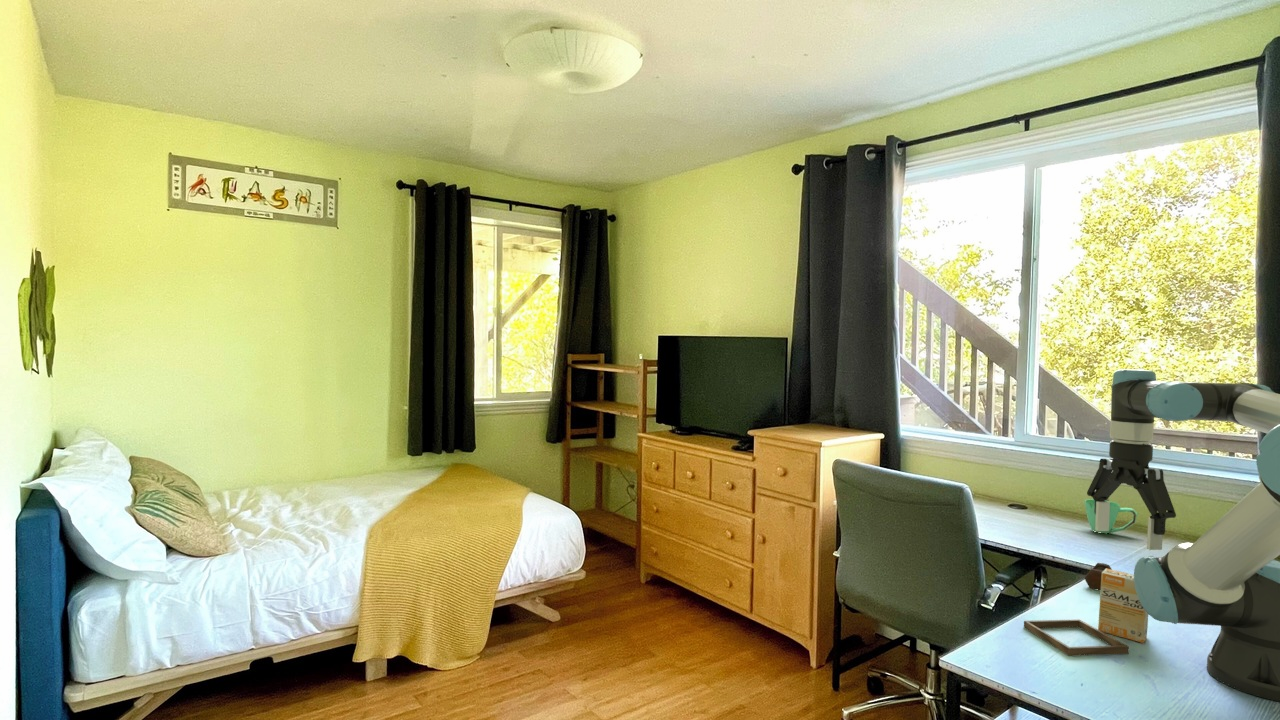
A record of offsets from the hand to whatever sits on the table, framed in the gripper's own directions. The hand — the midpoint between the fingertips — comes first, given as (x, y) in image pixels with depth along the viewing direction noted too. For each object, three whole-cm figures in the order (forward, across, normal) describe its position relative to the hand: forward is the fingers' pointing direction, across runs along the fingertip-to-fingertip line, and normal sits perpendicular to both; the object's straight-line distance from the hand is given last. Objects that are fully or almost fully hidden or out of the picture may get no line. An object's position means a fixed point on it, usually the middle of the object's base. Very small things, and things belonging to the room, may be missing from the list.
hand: (1126, 539), depth 144 cm
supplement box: (+21, 0, 0) cm, 21 cm away
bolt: (+21, +30, -21) cm, 43 cm away
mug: (+21, +74, -62) cm, 99 cm away
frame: (+21, -2, +13) cm, 25 cm away
